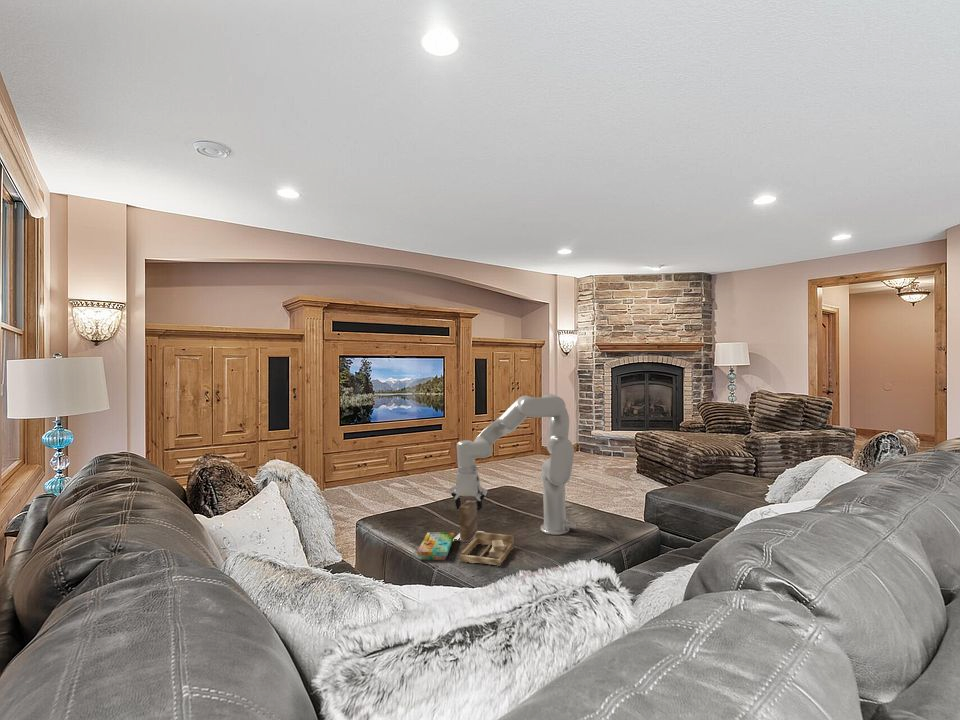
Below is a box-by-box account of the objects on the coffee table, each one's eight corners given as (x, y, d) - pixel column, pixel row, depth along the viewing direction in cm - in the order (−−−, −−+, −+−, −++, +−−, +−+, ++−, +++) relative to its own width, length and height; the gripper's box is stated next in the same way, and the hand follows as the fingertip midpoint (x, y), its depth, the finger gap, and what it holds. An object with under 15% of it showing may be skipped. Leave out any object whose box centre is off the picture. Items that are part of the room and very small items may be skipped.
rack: (513, 547, 208) (513, 535, 208) (499, 566, 191) (499, 553, 191) (476, 543, 214) (476, 531, 214) (459, 561, 197) (459, 548, 197)
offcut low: (506, 552, 205) (506, 544, 205) (502, 560, 197) (501, 552, 197) (494, 551, 207) (494, 543, 206) (489, 559, 199) (489, 551, 199)
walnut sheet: (477, 532, 225) (476, 500, 225) (469, 540, 216) (468, 507, 216) (468, 531, 227) (467, 500, 226) (460, 539, 217) (459, 507, 217)
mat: (484, 532, 226) (484, 531, 226) (474, 543, 214) (473, 542, 214) (463, 530, 229) (463, 529, 229) (451, 541, 217) (451, 540, 217)
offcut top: (501, 544, 205) (501, 539, 205) (504, 551, 199) (504, 546, 199) (492, 545, 205) (491, 540, 205) (494, 551, 199) (494, 546, 199)
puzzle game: (417, 549, 199) (427, 530, 219) (417, 561, 199) (427, 541, 219) (447, 549, 198) (454, 530, 217) (447, 561, 198) (454, 541, 218)
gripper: (488, 468, 221) (490, 507, 222) (451, 466, 227) (454, 504, 228) (482, 472, 214) (485, 513, 215) (444, 471, 220) (447, 510, 221)
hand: (469, 508), depth 221 cm, fingers open, 9 cm apart
